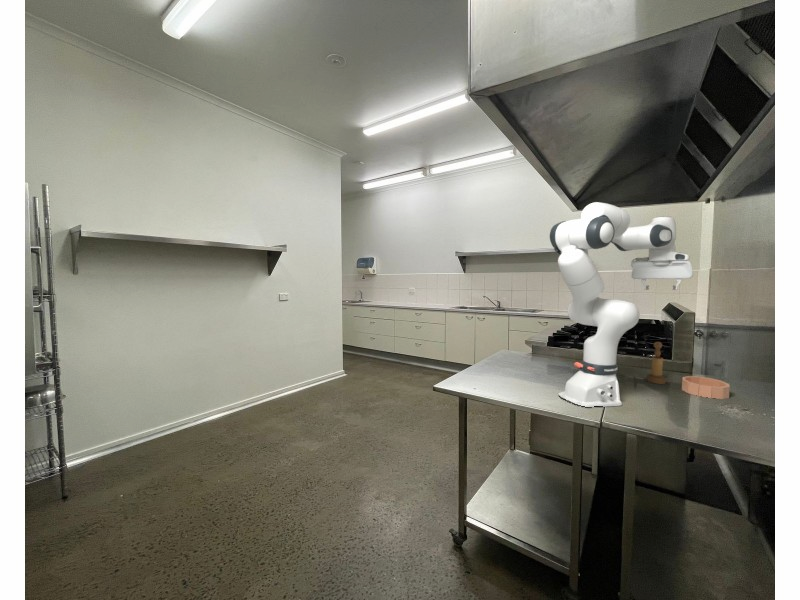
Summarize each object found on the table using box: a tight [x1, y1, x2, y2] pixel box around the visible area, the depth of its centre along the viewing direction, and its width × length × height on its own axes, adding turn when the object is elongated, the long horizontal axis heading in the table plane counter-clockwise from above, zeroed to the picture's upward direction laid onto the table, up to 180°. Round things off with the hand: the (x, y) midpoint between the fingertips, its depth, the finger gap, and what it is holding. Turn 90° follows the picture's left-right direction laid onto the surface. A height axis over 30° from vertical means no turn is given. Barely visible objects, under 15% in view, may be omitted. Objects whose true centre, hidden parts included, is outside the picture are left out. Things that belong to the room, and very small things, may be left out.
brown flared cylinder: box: [646, 341, 667, 385], centre depth 148 cm, size 7×6×18 cm
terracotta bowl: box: [681, 375, 731, 400], centre depth 134 cm, size 14×14×4 cm
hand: (660, 289), depth 140 cm, fingers open, 8 cm apart
